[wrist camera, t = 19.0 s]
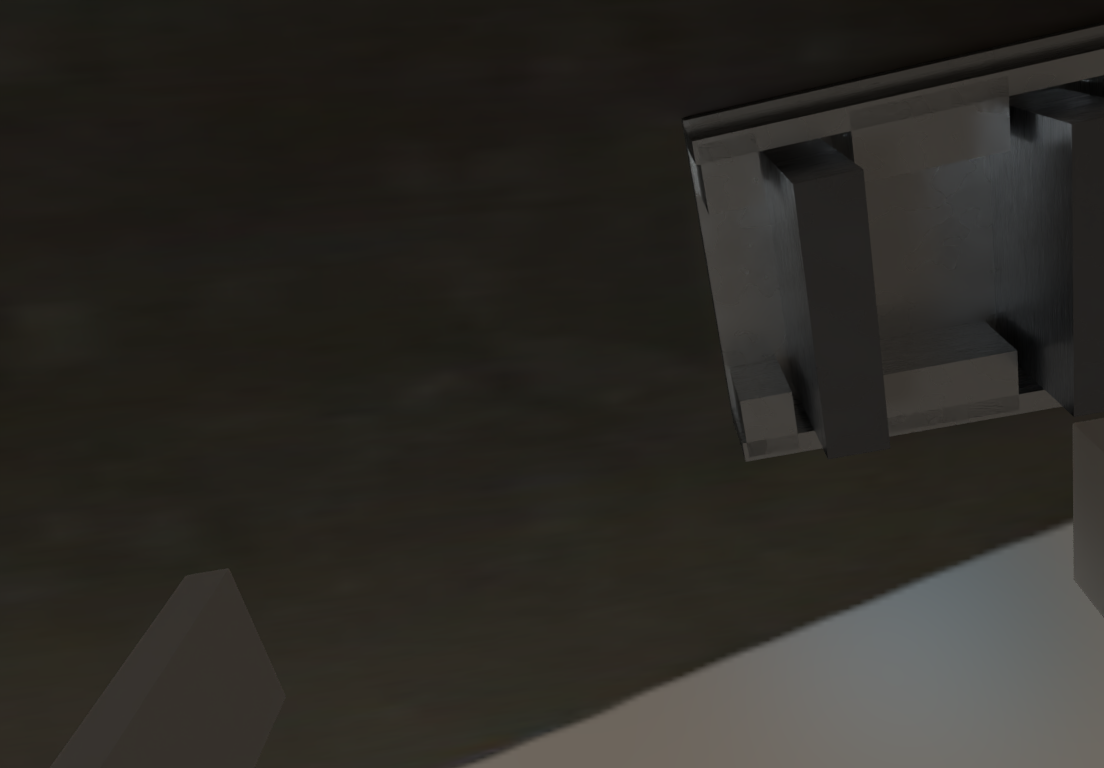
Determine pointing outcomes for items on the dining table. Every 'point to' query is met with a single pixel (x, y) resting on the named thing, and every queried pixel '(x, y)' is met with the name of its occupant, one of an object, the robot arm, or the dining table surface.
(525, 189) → the dining table surface
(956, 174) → the rack
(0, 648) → the dining table surface
